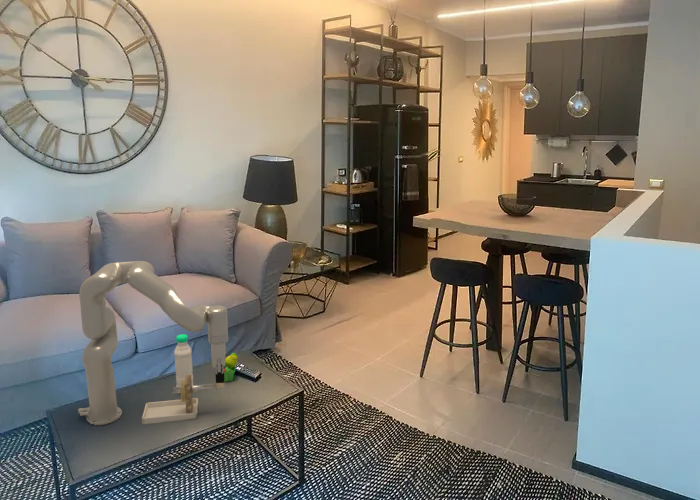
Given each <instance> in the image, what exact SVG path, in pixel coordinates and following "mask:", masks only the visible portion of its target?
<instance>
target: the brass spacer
mask: <svg viewBox="0 0 700 500" xmlns="http://www.w3.org/2000/svg"><path fill="white" fill-rule="evenodd" d="M184 384H185V380H182V381H181V387H180V390H181V393H180V400H181V402H185V387H184Z"/></svg>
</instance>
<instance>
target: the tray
mask: <svg viewBox="0 0 700 500" xmlns="http://www.w3.org/2000/svg"><path fill="white" fill-rule="evenodd" d="M192 398H193V409H192V413H188V414H186V403H185V402H181V399H173V400H161V401H150V402H146V403H145V406H144V410H143V412H142V416H141V424H142V426H143V425H144V426H145V425H151V424H152V425H153V424H163V423H171V422H173V423H174V422H182V421H192V420H197V419H198V413H199V411H198V409H199V398H198V397H195V398H194V397H192Z"/></svg>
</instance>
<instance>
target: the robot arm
mask: <svg viewBox="0 0 700 500" xmlns="http://www.w3.org/2000/svg"><path fill="white" fill-rule="evenodd" d="M119 284H128V285H129V286H130V287H131V288H133V289H134V290H135V291H137V292H139V293H140V294H142V295H143V296H144V297H146V298H147V299H149V300H150V301H152V302H154V303H155V304H156V305H158V306H159V307H160V309H161V310H162V311H163V312H164V314H165V315H167V317H168V318H169V319H171V321H173V322H174V323H175V324H177V325H178V326H180V327H182V328H183V329H185V330H186V331H188V332H191V333H199V332H200V331H202V330H203V329H204V328H205V326H206V324H207V335H208V336H207V337H208V338H207V339H208V341H207V342H208V343H209V344H210V346H211V348H210V351H211V352H210V353H211V354H210V355H211V368H212V369H213V370H214V369H215V384H216V383H224V384H225V382H224V373H223V368H224V367H225V359H226V343H228V341H229V326H228V325H229V323H228V322H229V321H228V309H227V307H226V306H224V305H220V304H219V305H218V304H217V305H205V304H194V305H192V306H191V307H188V306H187V305H186V304H185V303H184V302H183V301H182V300H181V299H180V297H179V295H178V293H177V291H176V289H175V288H174V286H173V285H172V284H170V283H169V282H167V281H165V280H164V279H163V278H161V277H159V276H158V275H157V274H155V267H154V265H152V264H151V263H150V262H148V261H144V260H134V261H133V260H132V261H117V262H110V263H106V264H105V265H103V266H102V267H101V268H100V269H99V270H97V271H96V272H95V273H94V274H91V276H89V277H88V278H86V279H85V280H84V281H83V282H81V285H80V288H79V293H78V294H79V304H80V305H79V306H80V317H81V327H82V332H83V335H84V336H86V338H88V339H89V340H90V341H89V342H88V344H87V345H86V346H85V347H84V350H83V352H82V364H83V366H84V367H83V368H84V370H85V377H86V379H85V380H86V386H87V392H88V393H87V394H88V396H87V397H88V404H89V406H87V407H85V408H84V407H81V408H80V407H79V408H77V411H78V414H79V415H80V417H83V416H85V417H86V418H85V419H86V422H87V421H88V422H89V423H90V425H92V424H94V425H93V426H104V425H110V424H111V423H114V422H116V421H117V420H119V419H120V418H121V417H122V416H123V410H122V408H120V407H118V402H117V391H116V382H115V371H114V368H113V364H112V356H113V355H114V353H115V351H116V349H117V347H118V344H119V343H118V329H117V319H116V315H115V312H114V311H113V310H112V309H111V308H110V307H108V306H107V301H106V298H105V295H107V294H108V293H110V292H112V291H113V290H115V289H116V288H117V287H118V286H119ZM217 368H218V370H217ZM221 368H222V369H221ZM88 422H87V423H88ZM89 423H88V424H89Z"/></svg>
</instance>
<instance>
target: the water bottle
mask: <svg viewBox="0 0 700 500" xmlns="http://www.w3.org/2000/svg"><path fill="white" fill-rule="evenodd" d="M175 341H176V343H177V345H176V346H175V349H174V352H173V353H174V367H175V382H176V386H175V387H181V381H182V380H185V378H186V375H191V382H192V386H193V385H194V374H193V372H194V371H193V357H192V353H193V351H192V348H191V346H190V345H189V343H188V342H189V336H188V334H186V333H185V334H184V333H183V334H182V333H181V334H177V335H176V338H175Z"/></svg>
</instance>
